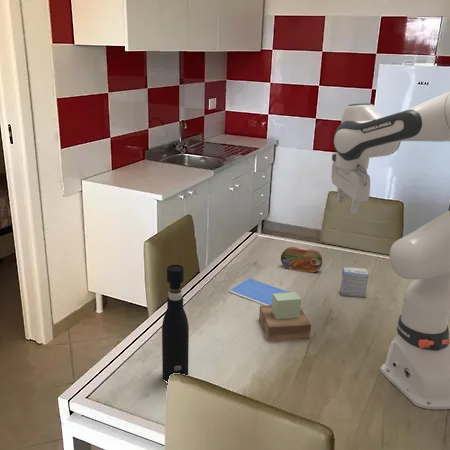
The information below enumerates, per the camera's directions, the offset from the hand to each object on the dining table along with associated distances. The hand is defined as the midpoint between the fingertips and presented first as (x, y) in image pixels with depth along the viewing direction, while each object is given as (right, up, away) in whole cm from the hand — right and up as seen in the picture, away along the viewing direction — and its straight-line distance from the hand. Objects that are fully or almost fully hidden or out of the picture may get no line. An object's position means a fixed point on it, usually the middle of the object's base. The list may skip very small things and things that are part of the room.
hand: (347, 207), depth 151 cm
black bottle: (-48, -43, -22) cm, 68 cm away
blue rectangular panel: (-23, -29, +21) cm, 42 cm away
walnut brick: (-18, -36, +1) cm, 40 cm away
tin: (-8, -22, +39) cm, 46 cm away
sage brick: (-18, -31, -1) cm, 36 cm away
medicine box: (+7, -28, +23) cm, 37 cm away
